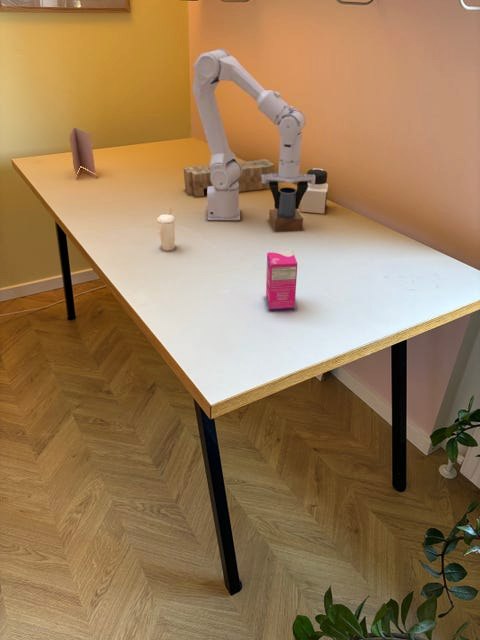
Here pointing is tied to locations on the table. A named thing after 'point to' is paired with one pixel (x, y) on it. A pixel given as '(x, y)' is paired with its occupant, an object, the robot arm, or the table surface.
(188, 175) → the block tower
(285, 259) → the supplement box
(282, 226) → the block
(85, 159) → the greeting card
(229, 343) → the table surface
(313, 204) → the medicine bottle
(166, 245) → the milkshake
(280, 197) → the cup
